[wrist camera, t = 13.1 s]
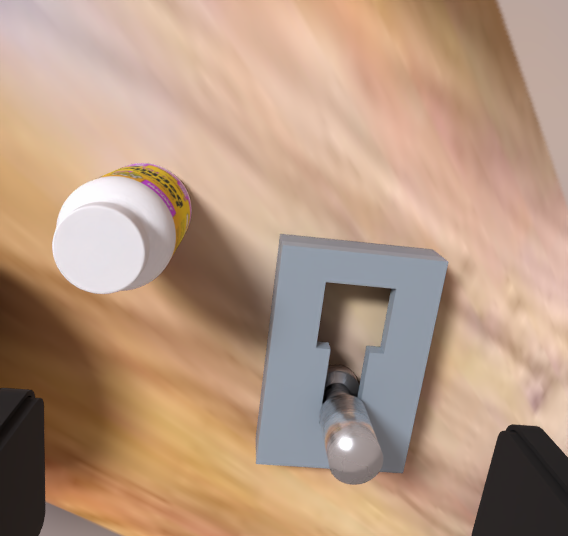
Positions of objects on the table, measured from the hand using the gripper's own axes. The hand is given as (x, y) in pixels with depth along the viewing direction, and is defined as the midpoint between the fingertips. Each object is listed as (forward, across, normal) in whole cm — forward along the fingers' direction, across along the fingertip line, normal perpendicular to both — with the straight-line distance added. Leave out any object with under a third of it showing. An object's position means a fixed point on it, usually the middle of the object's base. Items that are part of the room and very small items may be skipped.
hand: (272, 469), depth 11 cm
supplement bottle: (+30, +8, +1) cm, 31 cm away
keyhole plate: (+30, -8, +11) cm, 33 cm away
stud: (+30, -8, +15) cm, 34 cm away
